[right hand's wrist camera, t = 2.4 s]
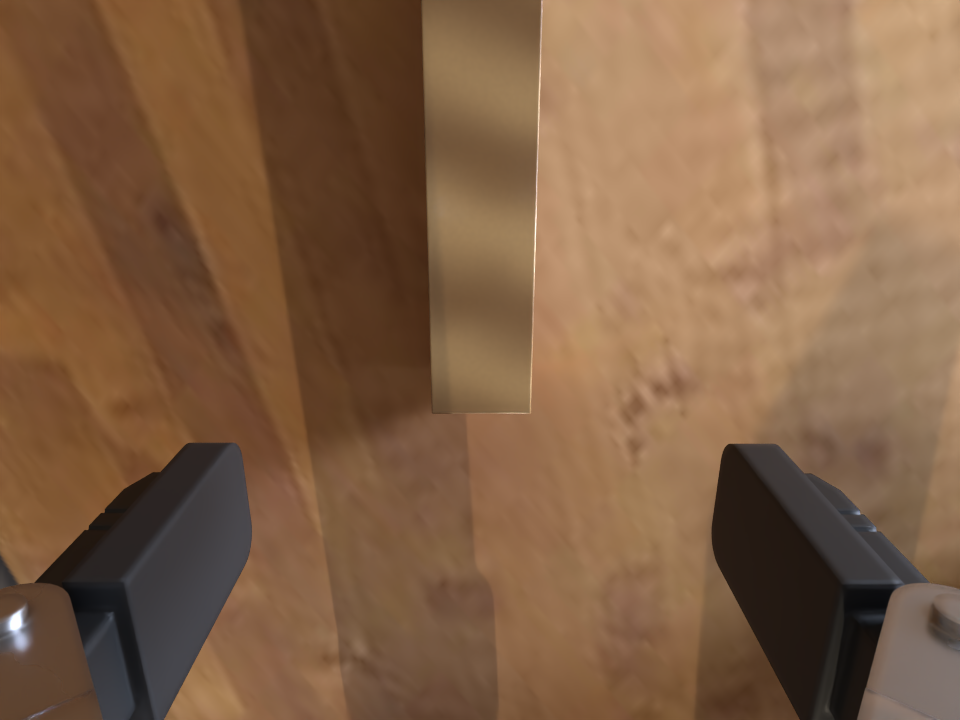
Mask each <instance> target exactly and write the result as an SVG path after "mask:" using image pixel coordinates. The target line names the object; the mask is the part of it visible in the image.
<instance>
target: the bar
mask: <svg viewBox="0 0 960 720" xmlns="http://www.w3.org/2000/svg"><path fill="white" fill-rule="evenodd" d="M542 2H543V0H421V19H422V57H423V94H424V132H425V170H426V207H427V245H428V283H429V320H430V358H431V395H432V413H433V414H529V413H530V412H531V382H532V348H533V313H534V278H535V244H536V209H537V175H538V140H539V106H540V71H541V37H542Z"/></svg>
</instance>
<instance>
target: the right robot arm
mask: <svg viewBox="0 0 960 720" xmlns="http://www.w3.org/2000/svg"><path fill="white" fill-rule="evenodd" d="M251 539H252V525H251V517H250V509H249V502H248V495H247V488H246V480H245V473H244V466H243V459H242V454H241V450H240V448H239V446H238V445H237V444H236V443H188V444H186V445H185V446H184V447H183V448H182V449H181V450H180V451H179V452H178V453H177V455H176V456H175V457H174V458H173V459H172V460H171V461H170V462H169V463H168V465H167V466H166V467H165V468H164V469H163V470H162V471H161V472H153V473H151V474H149V475H148V476H146V477H144V478H142V479H141V480H139V481H137V482H136V483H134V484H132V485H130V486H129V487H127V488H125V489H124V490H123V491H122V492H121V493H120V494H119V495H118V496H117V497H116V498H115V499H114V500H113V501H112V502H111V503H110V504H109V505H108V506H107V507H106V508H105V513H101V514H100V515H99V516H98V517H97V518H96V519H95V520H94V521H93V522H92V523H91V524H90V525H89V530H84V531H83V532H82V534H81V535H80V536H79V537H78V538H77V539H76V540H75V541H74V542H73V543H72V544H71V545H70V546H69V547H68V548H67V549H66V550H65V551H64V552H63V553H62V554H61V555H60V556H59V558H58V559H57V560H56V561H55V562H54V563H53V564H52V565H51V566H50V567H49V568H48V569H47V570H46V571H45V572H44V573H43V574H42V575H41V576H40V577H39V578H38V579H37V581H36V582H35V583H28V584H20V585H15V586H11V587H7V588H3V589H0V720H164V718H165V716H166V715H167V713H168V711H169V709H170V707H171V705H172V703H173V701H174V699H175V697H176V696H177V694H178V692H179V690H180V688H181V686H182V684H183V682H184V680H185V678H186V676H187V675H188V673H189V671H190V669H191V667H192V665H193V663H194V661H195V659H196V657H197V656H198V654H199V652H200V650H201V648H202V646H203V644H204V642H205V640H206V638H207V636H208V635H209V633H210V631H211V629H212V627H213V625H214V623H215V621H216V619H217V617H218V616H219V614H220V612H221V610H222V608H223V606H224V604H225V602H226V600H227V598H228V596H229V595H230V593H231V591H232V589H233V587H234V585H235V583H236V581H237V579H238V577H239V576H240V574H241V572H242V570H243V568H244V566H245V564H246V562H247V559H248V556H249V552H250V547H251ZM712 545H713V551H714V555H715V559H716V562H717V564H718V566H719V568H720V570H721V572H722V574H723V576H724V578H725V579H726V581H727V583H728V585H729V587H730V589H731V591H732V593H733V594H734V596H735V598H736V600H737V602H738V604H739V606H740V608H741V609H742V611H743V613H744V615H745V617H746V619H747V621H748V623H749V625H750V626H751V628H752V630H753V632H754V634H755V636H756V638H757V640H758V641H759V643H760V645H761V647H762V649H763V651H764V653H765V655H766V657H767V658H768V660H769V662H770V664H771V666H772V668H773V670H774V672H775V673H776V675H777V677H778V679H779V681H780V683H781V685H782V687H783V689H784V690H785V692H786V694H787V696H788V698H789V700H790V702H791V704H792V705H793V707H794V709H795V711H796V713H797V715H798V717H799V719H800V720H960V589H957V588H953V587H950V586H945V585H940V584H932V583H929V582H928V580H927V579H926V578H925V577H924V576H923V575H922V574H921V573H920V572H919V571H918V570H917V569H916V568H915V567H914V566H913V565H912V564H911V563H910V562H909V561H908V560H907V559H906V558H905V557H904V556H903V555H902V554H901V553H900V552H899V550H898V549H897V548H896V547H895V546H894V545H893V544H892V543H891V542H890V541H889V540H888V539H887V538H886V537H885V536H884V535H883V534H882V533H881V532H877V531H876V527H875V526H874V525H873V524H872V523H871V522H870V520H869V519H868V518H867V517H866V516H865V515H860V510H859V509H858V508H857V507H856V506H855V505H854V504H853V503H852V502H851V501H850V500H849V499H848V498H847V497H846V496H845V495H844V494H843V493H842V491H840V490H839V489H837V488H835V487H834V486H832V485H830V484H828V483H827V482H825V481H823V480H821V479H820V478H818V477H816V476H815V475H813V474H804V473H803V472H802V471H801V470H800V469H799V468H798V466H797V465H796V464H795V463H794V462H793V461H792V460H791V459H790V458H789V457H788V455H787V454H786V453H785V452H784V451H783V450H782V449H781V448H780V447H779V446H778V445H776V444H728V445H727V446H726V447H725V449H724V451H723V454H722V458H721V464H720V471H719V479H718V486H717V493H716V500H715V507H714V514H713V521H712Z"/></svg>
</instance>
